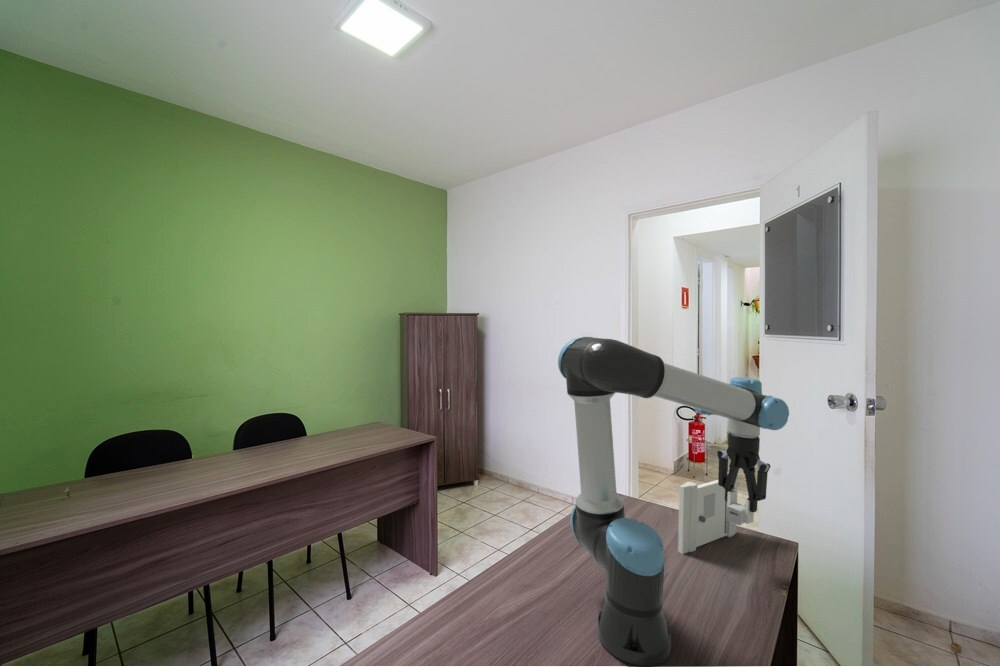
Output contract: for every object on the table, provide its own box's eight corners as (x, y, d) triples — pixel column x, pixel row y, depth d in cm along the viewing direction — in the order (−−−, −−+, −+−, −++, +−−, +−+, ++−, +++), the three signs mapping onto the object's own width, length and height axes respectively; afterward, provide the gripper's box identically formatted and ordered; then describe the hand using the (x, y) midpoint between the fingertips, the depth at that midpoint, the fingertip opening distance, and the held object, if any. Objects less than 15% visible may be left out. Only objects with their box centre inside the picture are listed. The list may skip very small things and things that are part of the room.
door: (719, 534, 129) (721, 478, 129) (727, 538, 127) (729, 481, 127) (691, 544, 123) (692, 486, 122) (699, 549, 121) (700, 489, 120)
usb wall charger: (725, 520, 111) (726, 505, 111) (737, 513, 115) (737, 499, 115) (741, 526, 108) (742, 511, 107) (752, 519, 112) (753, 504, 112)
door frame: (683, 555, 118) (685, 487, 118) (676, 550, 121) (677, 484, 120) (737, 533, 131) (739, 473, 130) (730, 530, 133) (731, 470, 132)
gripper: (785, 441, 105) (781, 530, 105) (721, 425, 120) (718, 503, 121) (769, 444, 101) (765, 536, 102) (705, 427, 117) (702, 507, 117)
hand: (739, 518), depth 111 cm, fingers closed on usb wall charger, 4 cm apart
